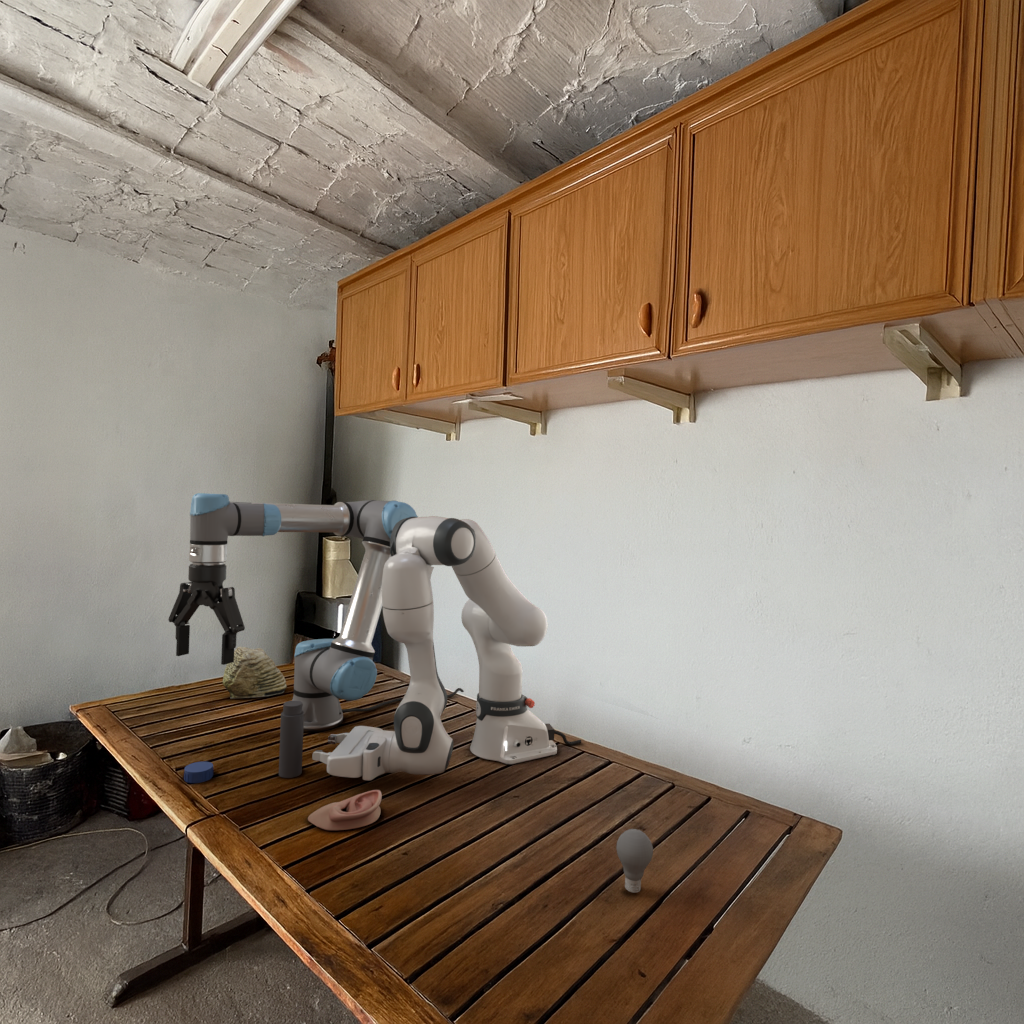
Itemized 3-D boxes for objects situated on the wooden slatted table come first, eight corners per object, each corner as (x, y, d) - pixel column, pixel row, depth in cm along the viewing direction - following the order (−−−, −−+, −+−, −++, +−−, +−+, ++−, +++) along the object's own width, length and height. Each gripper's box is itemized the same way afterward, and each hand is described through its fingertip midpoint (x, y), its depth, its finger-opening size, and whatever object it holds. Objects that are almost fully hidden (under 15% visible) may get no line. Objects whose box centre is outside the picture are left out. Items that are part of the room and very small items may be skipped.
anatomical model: (300, 805, 121) (329, 780, 132) (299, 826, 121) (328, 798, 133) (364, 815, 119) (388, 788, 130) (363, 836, 119) (387, 807, 130)
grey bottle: (303, 775, 143) (306, 705, 143) (280, 779, 141) (283, 708, 141) (299, 767, 148) (301, 698, 147) (276, 770, 145) (279, 701, 145)
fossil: (218, 695, 195) (220, 647, 195) (278, 685, 208) (279, 640, 207) (228, 703, 189) (230, 653, 188) (289, 692, 201) (290, 645, 201)
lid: (195, 770, 144) (196, 759, 144) (218, 773, 143) (219, 762, 143) (177, 781, 138) (178, 770, 138) (201, 784, 137) (202, 773, 137)
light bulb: (610, 879, 108) (613, 822, 108) (644, 879, 109) (647, 822, 109) (619, 902, 102) (622, 840, 102) (655, 901, 103) (658, 840, 103)
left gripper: (152, 560, 141) (149, 654, 141) (237, 569, 131) (233, 671, 132) (182, 557, 148) (179, 648, 148) (264, 566, 138) (260, 663, 139)
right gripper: (393, 721, 153) (337, 717, 154) (368, 754, 133) (304, 750, 134) (392, 746, 154) (336, 743, 155) (367, 784, 133) (303, 779, 134)
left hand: (204, 659), depth 140 cm, fingers open, 13 cm apart
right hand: (321, 746), depth 144 cm, fingers open, 8 cm apart
